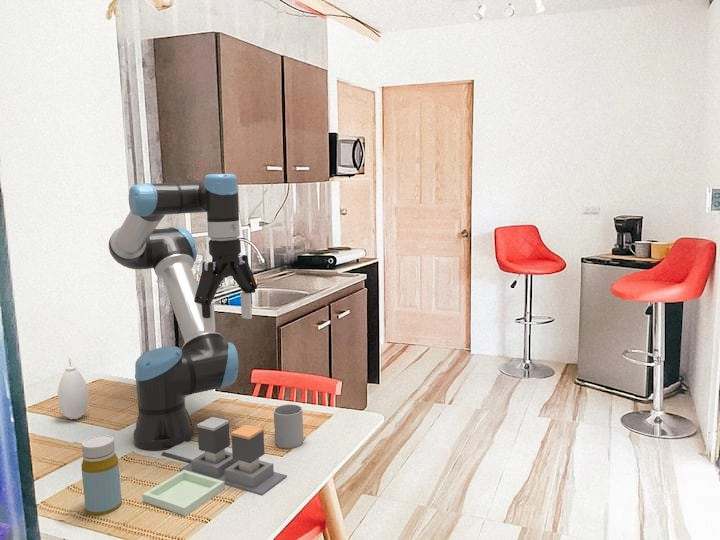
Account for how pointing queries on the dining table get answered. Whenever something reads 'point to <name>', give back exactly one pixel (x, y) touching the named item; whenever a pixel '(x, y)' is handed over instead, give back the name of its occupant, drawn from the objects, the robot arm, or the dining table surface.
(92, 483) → the bottle
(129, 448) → the dining table surface
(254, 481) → the strip
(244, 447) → the plug
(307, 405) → the dining table surface
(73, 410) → the white air blower
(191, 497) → the parts tray
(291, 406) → the cup
